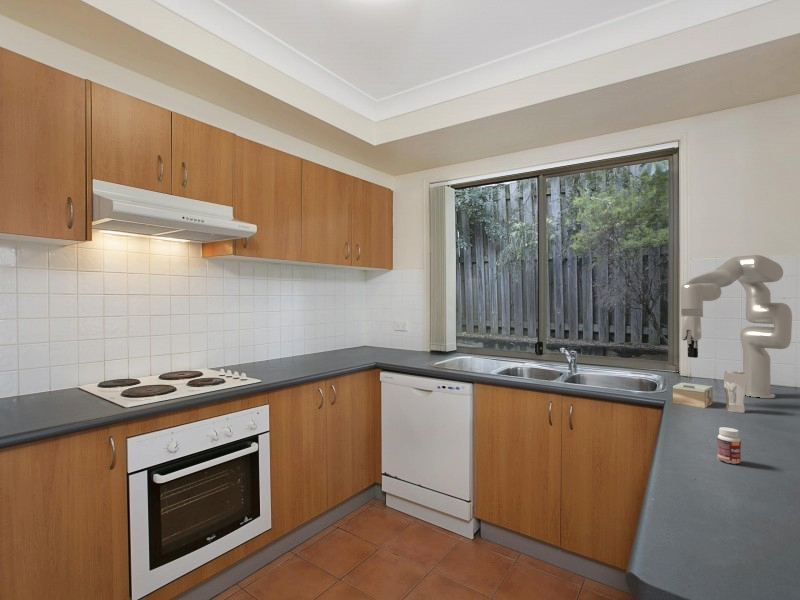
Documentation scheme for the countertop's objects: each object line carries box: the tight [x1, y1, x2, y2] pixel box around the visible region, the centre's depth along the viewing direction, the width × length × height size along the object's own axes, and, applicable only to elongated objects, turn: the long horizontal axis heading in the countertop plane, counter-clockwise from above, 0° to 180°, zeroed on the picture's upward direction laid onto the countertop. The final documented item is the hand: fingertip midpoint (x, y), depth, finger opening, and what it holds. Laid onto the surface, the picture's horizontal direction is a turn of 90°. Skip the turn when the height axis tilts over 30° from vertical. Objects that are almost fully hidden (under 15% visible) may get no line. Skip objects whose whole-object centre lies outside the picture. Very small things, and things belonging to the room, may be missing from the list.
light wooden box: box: [672, 387, 714, 409], centre depth 175 cm, size 12×11×6 cm
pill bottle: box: [717, 426, 742, 462], centre depth 109 cm, size 5×5×8 cm
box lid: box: [672, 382, 714, 392], centre depth 175 cm, size 12×11×2 cm
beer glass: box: [723, 370, 747, 414], centre depth 162 cm, size 7×7×15 cm
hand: (692, 357), depth 174 cm, fingers closed
